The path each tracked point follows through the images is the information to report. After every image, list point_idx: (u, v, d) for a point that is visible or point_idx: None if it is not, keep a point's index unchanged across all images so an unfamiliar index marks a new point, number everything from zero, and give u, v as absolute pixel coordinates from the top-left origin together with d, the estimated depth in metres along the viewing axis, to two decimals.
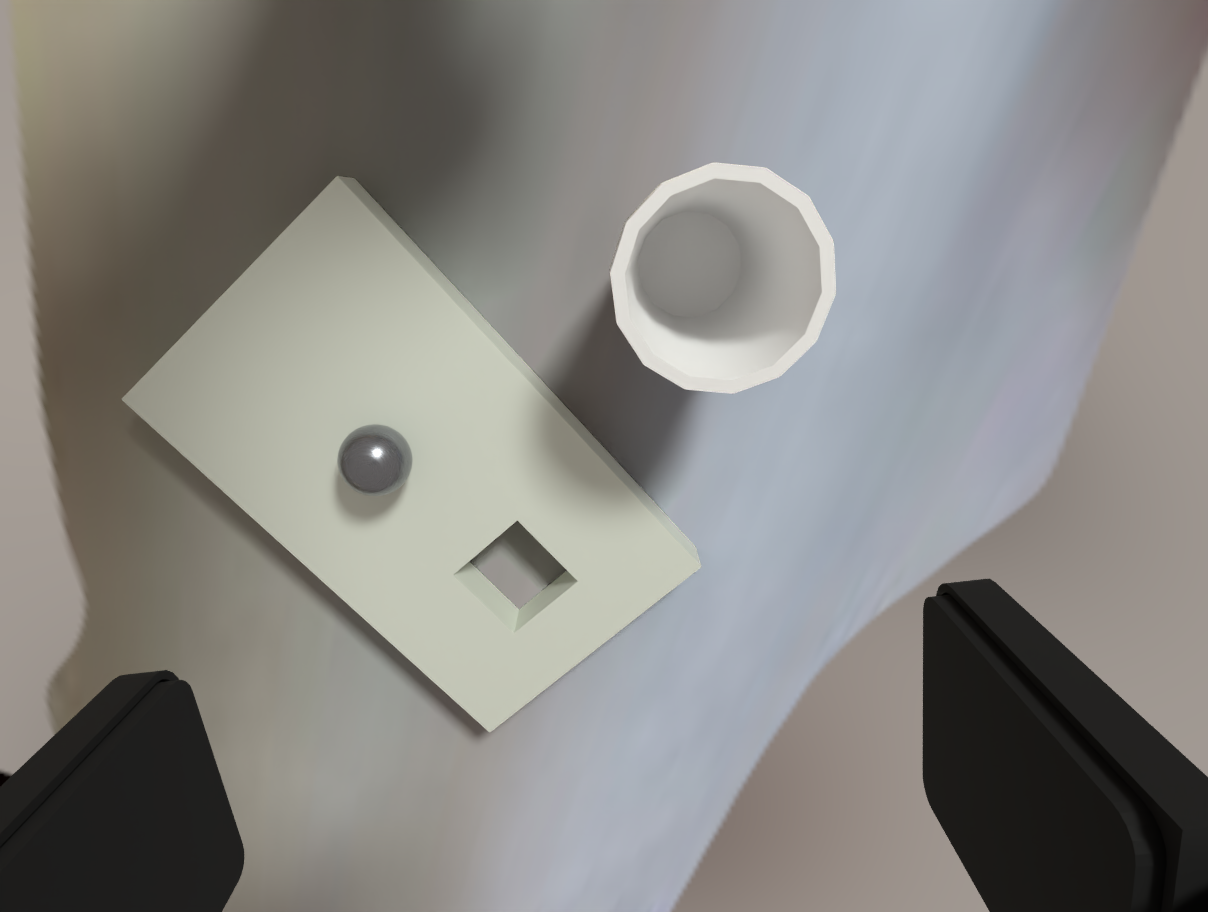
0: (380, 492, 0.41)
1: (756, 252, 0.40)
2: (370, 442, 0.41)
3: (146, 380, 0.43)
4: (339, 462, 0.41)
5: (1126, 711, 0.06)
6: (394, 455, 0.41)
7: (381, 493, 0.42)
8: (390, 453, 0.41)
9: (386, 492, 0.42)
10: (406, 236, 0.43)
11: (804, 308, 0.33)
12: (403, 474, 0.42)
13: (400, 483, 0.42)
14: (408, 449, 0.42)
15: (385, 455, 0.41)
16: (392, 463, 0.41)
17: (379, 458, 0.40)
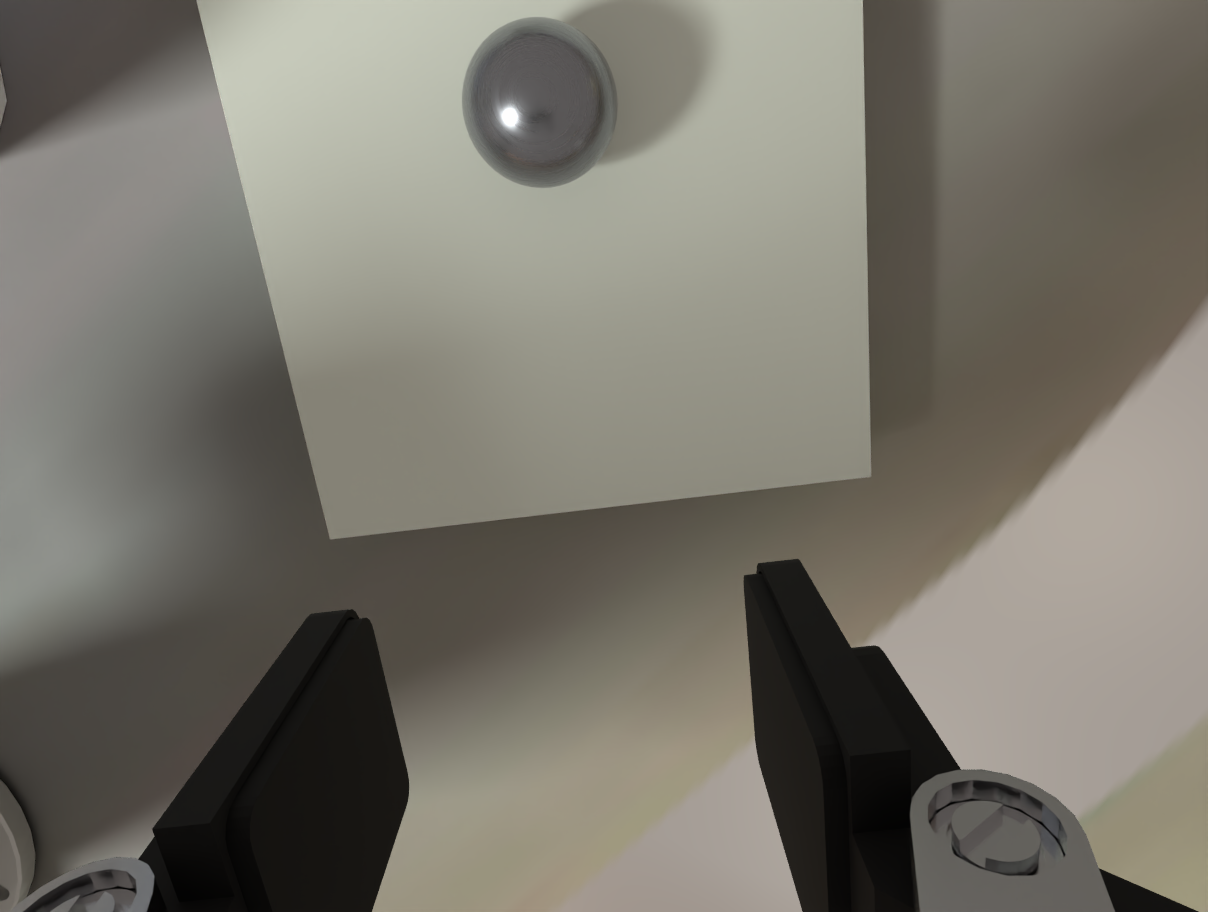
0: (551, 30, 0.18)
1: None
2: (496, 144, 0.19)
3: (811, 476, 0.25)
4: (586, 148, 0.19)
5: (854, 666, 0.07)
6: (472, 87, 0.18)
7: (554, 27, 0.18)
8: (474, 96, 0.18)
9: (545, 22, 0.18)
10: None
11: None
12: (491, 36, 0.18)
13: (511, 22, 0.18)
14: None
15: (482, 98, 0.18)
16: (481, 73, 0.18)
17: (493, 99, 0.18)
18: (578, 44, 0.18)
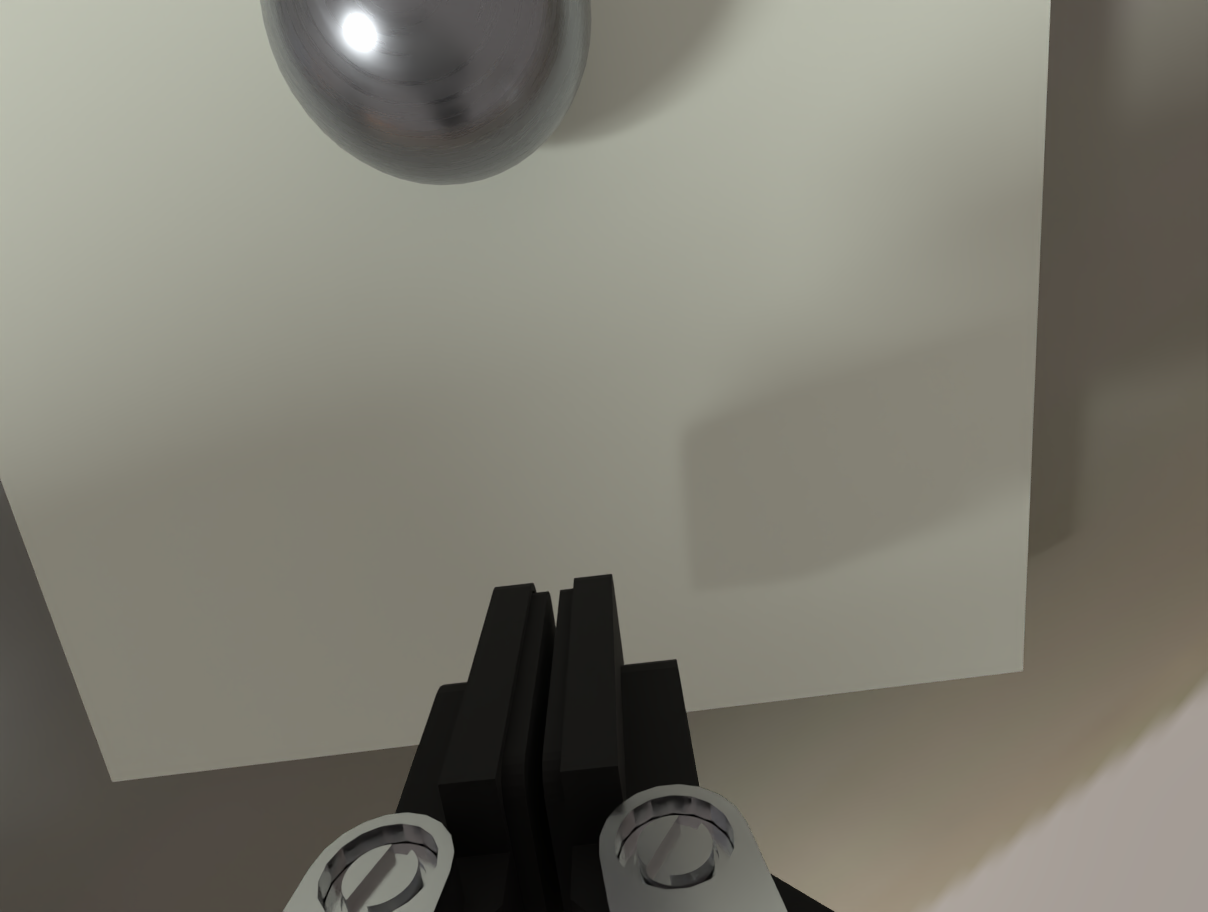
0: None
1: None
2: (324, 87, 0.09)
3: (923, 672, 0.15)
4: (524, 99, 0.09)
5: (608, 682, 0.08)
6: None
7: None
8: None
9: None
10: None
11: None
12: None
13: None
14: None
15: None
16: None
17: None
18: None
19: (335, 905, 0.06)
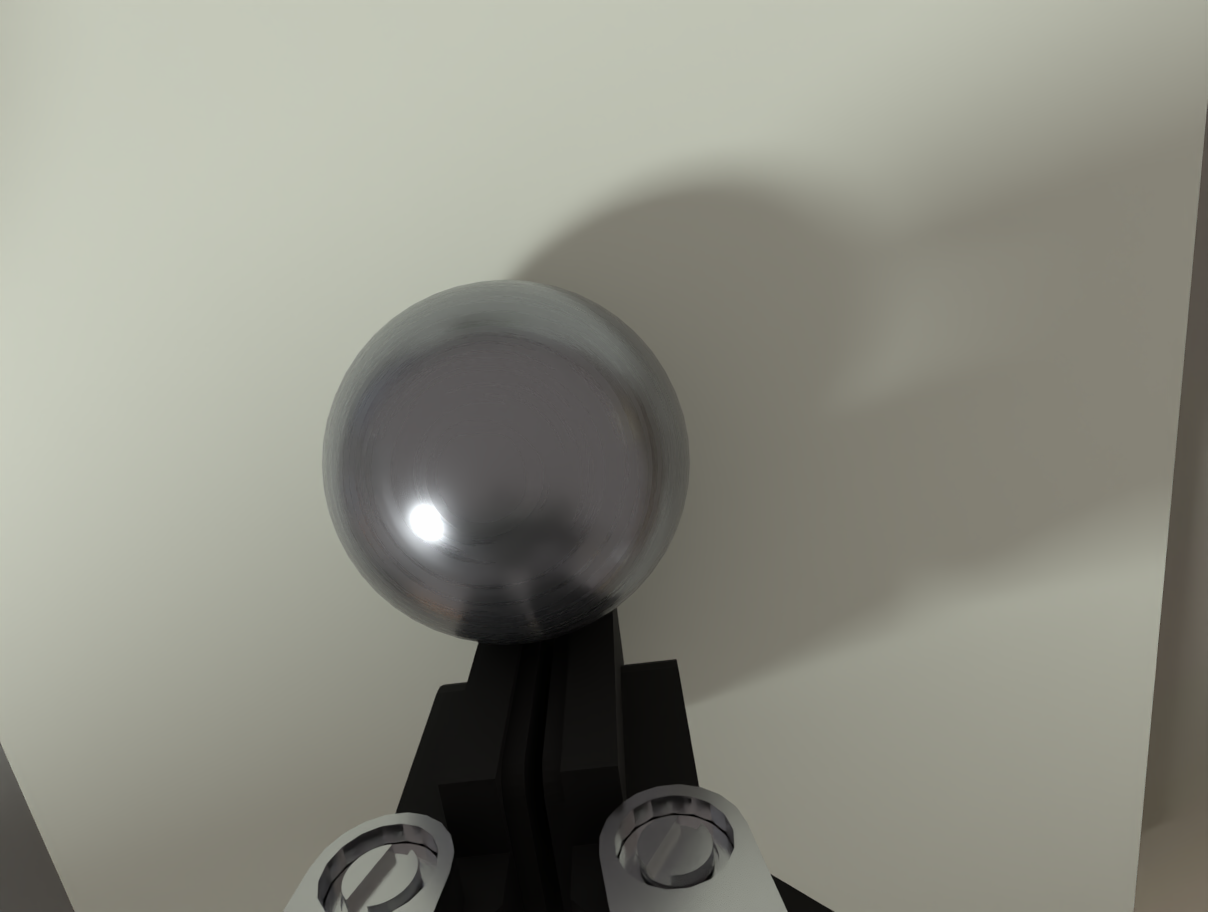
0: (532, 314, 0.07)
1: None
2: (389, 580, 0.07)
3: None
4: (621, 581, 0.07)
5: (608, 682, 0.08)
6: (333, 446, 0.07)
7: (539, 306, 0.07)
8: (338, 467, 0.07)
9: (518, 295, 0.07)
10: None
11: None
12: (390, 326, 0.08)
13: (440, 294, 0.08)
14: None
15: (353, 477, 0.07)
16: (354, 417, 0.07)
17: (379, 484, 0.07)
18: (600, 343, 0.07)
19: (335, 905, 0.06)
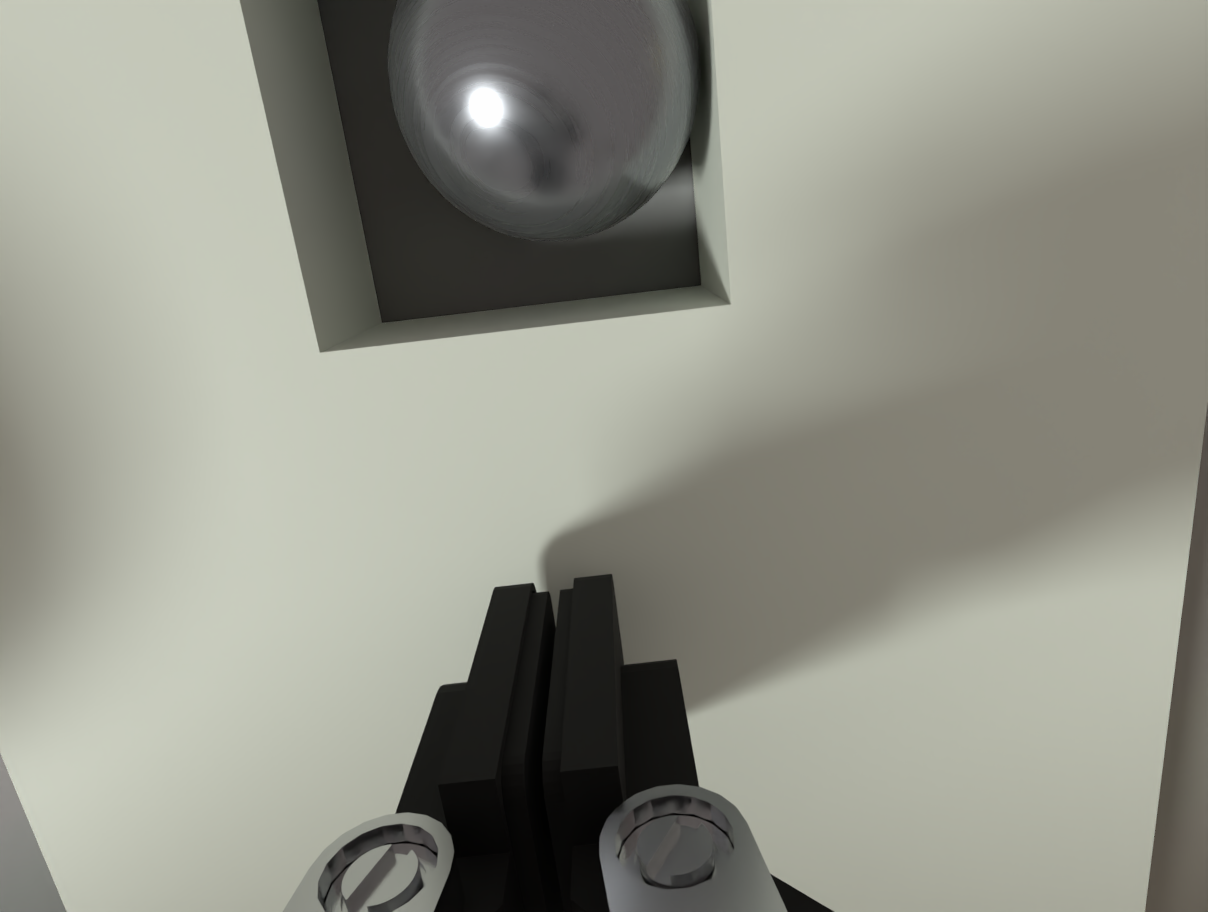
0: None
1: None
2: (470, 216, 0.10)
3: None
4: (633, 197, 0.10)
5: (608, 681, 0.08)
6: (399, 123, 0.10)
7: None
8: (407, 141, 0.10)
9: None
10: None
11: None
12: (405, 0, 0.09)
13: None
14: None
15: (418, 153, 0.09)
16: (402, 105, 0.09)
17: (434, 164, 0.09)
18: (573, 3, 0.08)
19: (335, 905, 0.06)
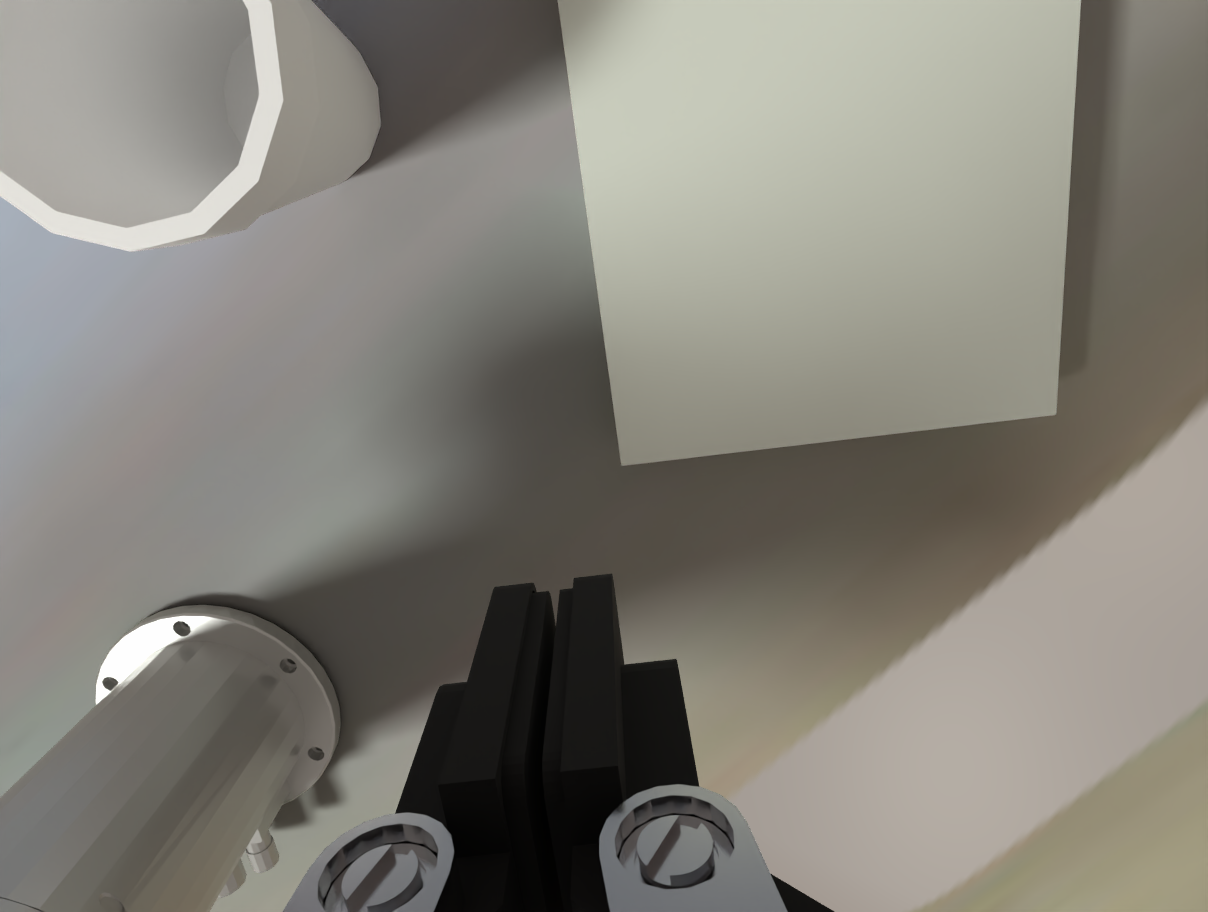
0: None
1: (172, 64, 0.27)
2: None
3: (1007, 414, 0.31)
4: None
5: (609, 681, 0.08)
6: None
7: None
8: None
9: None
10: None
11: None
12: None
13: None
14: None
15: None
16: None
17: None
18: None
19: (335, 905, 0.06)
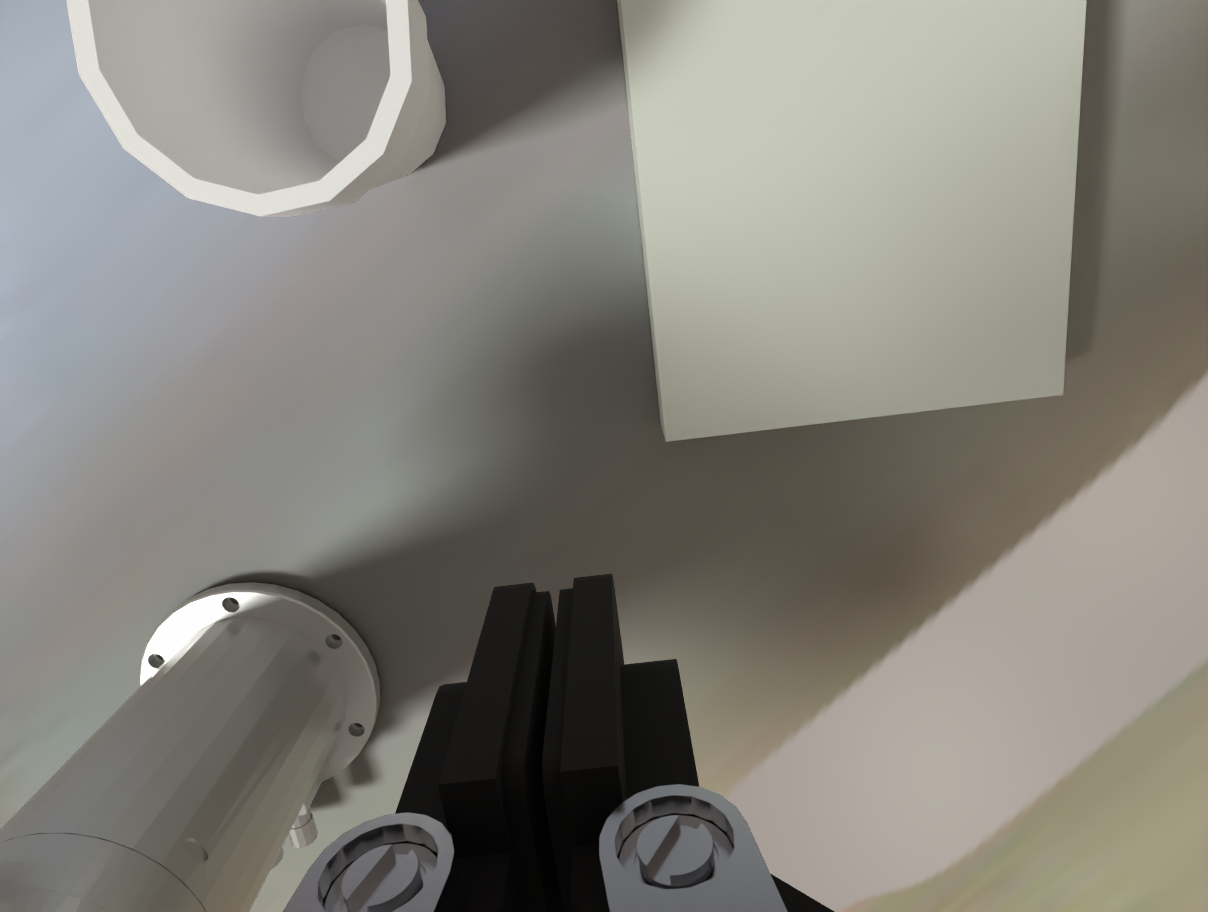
0: None
1: (265, 59, 0.29)
2: None
3: (1019, 394, 0.34)
4: None
5: (608, 682, 0.08)
6: None
7: None
8: None
9: None
10: (652, 343, 0.36)
11: None
12: None
13: None
14: None
15: None
16: None
17: None
18: None
19: (335, 905, 0.06)
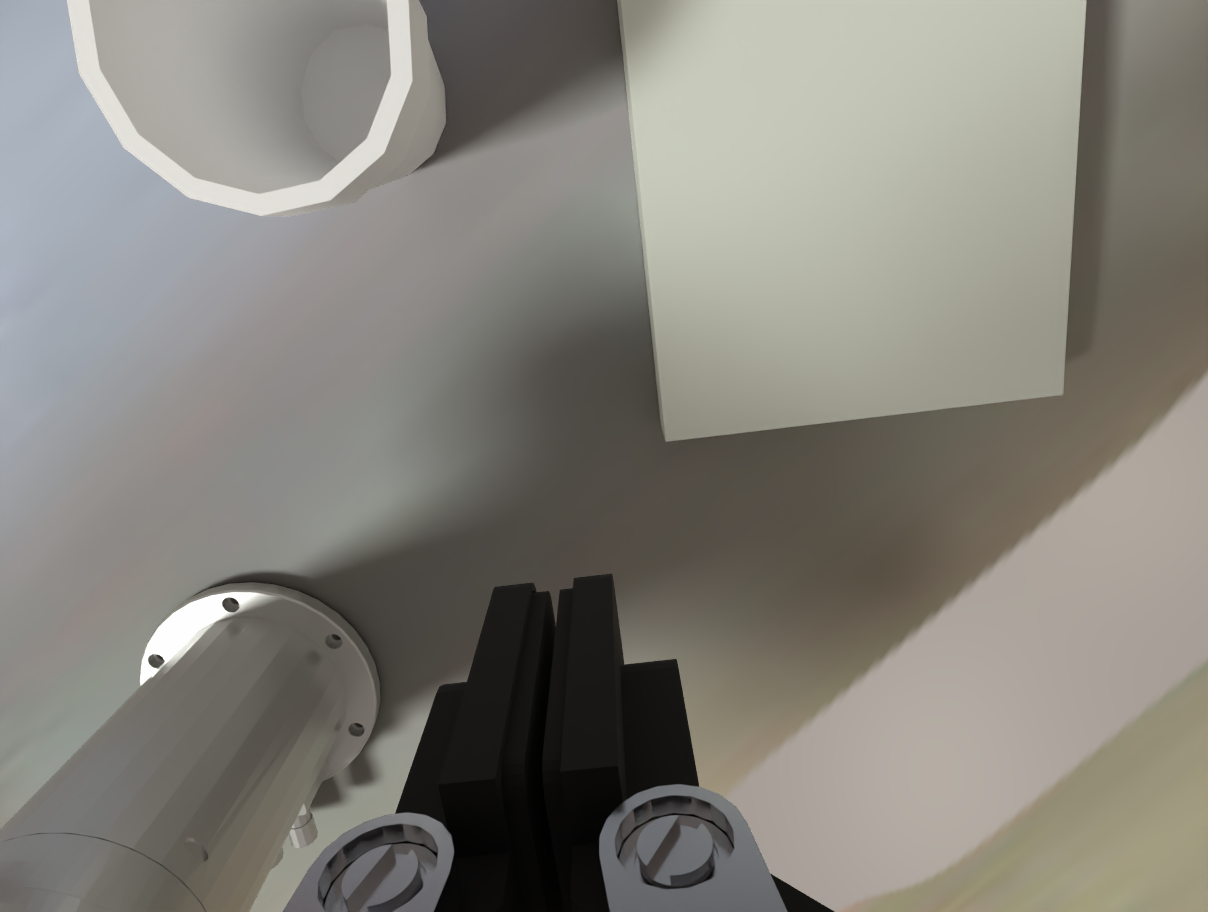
0: None
1: (265, 58, 0.29)
2: None
3: (1019, 394, 0.34)
4: None
5: (608, 682, 0.08)
6: None
7: None
8: None
9: None
10: (652, 343, 0.36)
11: None
12: None
13: None
14: None
15: None
16: None
17: None
18: None
19: (335, 905, 0.06)
